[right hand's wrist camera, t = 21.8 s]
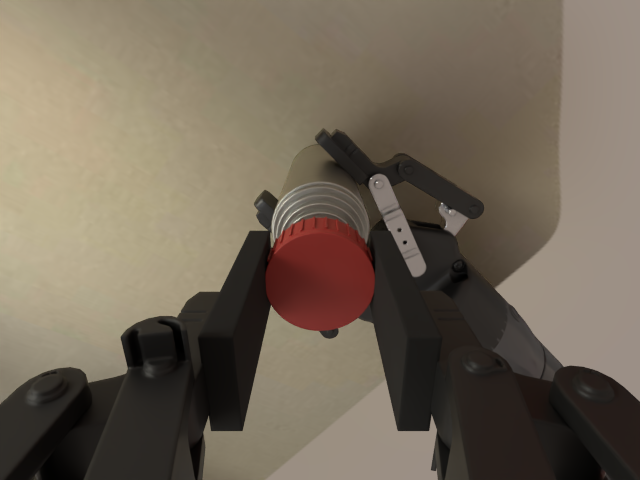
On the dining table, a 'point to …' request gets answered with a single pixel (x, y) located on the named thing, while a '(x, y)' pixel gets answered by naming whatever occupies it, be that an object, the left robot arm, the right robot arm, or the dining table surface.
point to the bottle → (319, 194)
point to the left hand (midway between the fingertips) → (289, 166)
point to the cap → (320, 274)
